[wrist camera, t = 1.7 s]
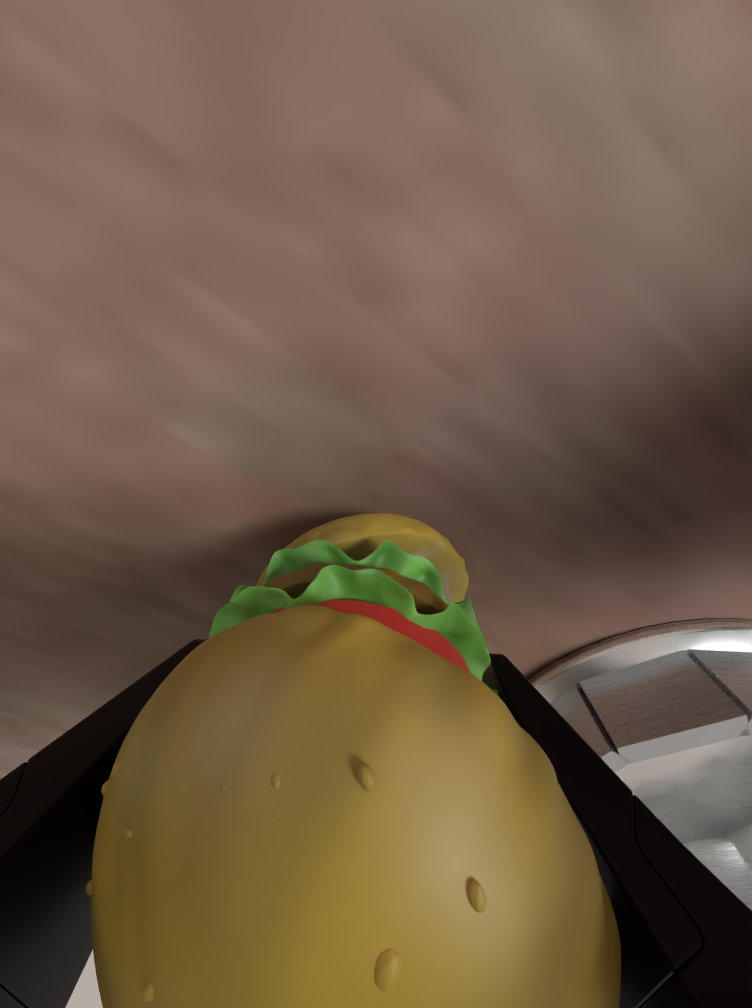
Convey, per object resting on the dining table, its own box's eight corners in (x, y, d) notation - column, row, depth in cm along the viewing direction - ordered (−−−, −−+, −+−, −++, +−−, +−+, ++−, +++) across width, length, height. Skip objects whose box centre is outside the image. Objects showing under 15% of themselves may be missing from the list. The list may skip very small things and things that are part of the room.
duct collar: (975, 630, 13) (1144, 710, 10) (754, 860, 20) (817, 946, 17) (508, 607, 13) (541, 679, 10) (453, 842, 20) (464, 923, 17)
